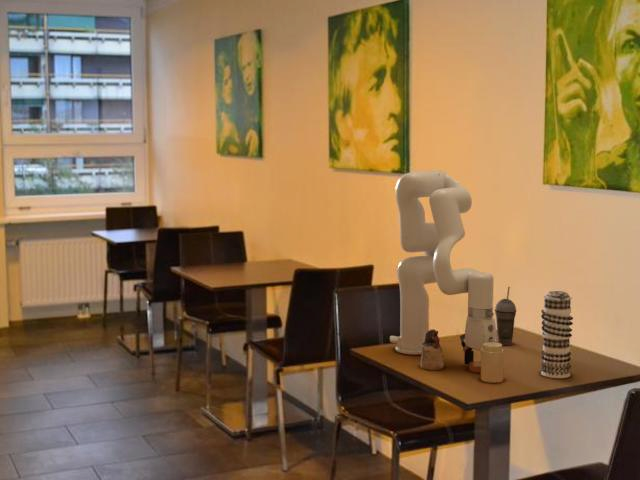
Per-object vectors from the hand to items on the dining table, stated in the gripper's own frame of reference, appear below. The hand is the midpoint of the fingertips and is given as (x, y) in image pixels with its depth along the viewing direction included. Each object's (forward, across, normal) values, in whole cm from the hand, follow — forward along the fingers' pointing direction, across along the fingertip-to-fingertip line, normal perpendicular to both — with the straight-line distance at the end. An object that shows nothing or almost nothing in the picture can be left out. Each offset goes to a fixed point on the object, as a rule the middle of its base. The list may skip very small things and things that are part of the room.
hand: (479, 367), depth 274 cm
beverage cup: (+1, +20, -30) cm, 36 cm away
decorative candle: (+1, -17, -15) cm, 23 cm away
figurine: (+1, +10, +10) cm, 14 cm away
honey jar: (+1, -10, +4) cm, 11 cm away
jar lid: (-1, 0, 0) cm, 1 cm away
